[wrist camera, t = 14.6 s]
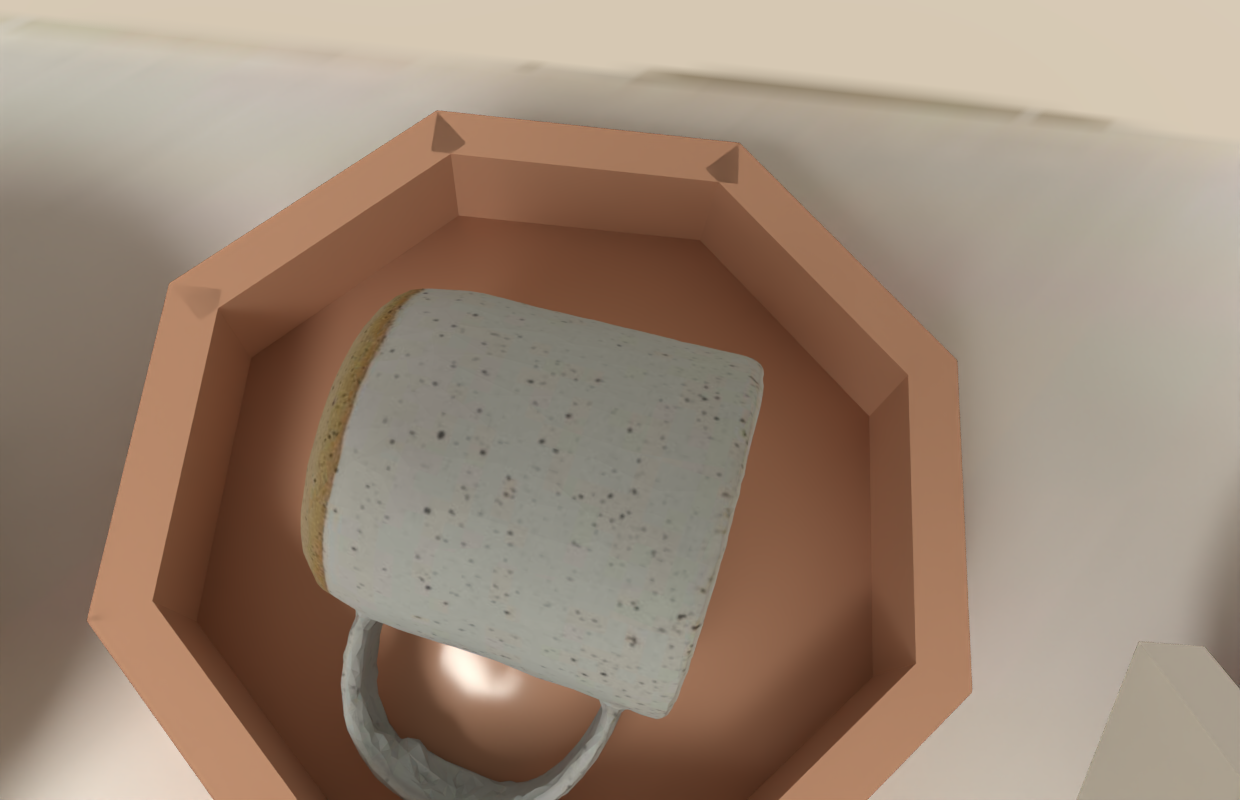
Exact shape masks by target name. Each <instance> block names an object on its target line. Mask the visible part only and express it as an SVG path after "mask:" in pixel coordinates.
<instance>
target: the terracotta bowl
mask: <svg viewBox="0 0 1240 800" xmlns="http://www.w3.org/2000/svg"><path fill="white" fill-rule="evenodd" d="M414 289H446V290H462V291H472V292H479V293H485V294H489V295H492V296H497V297H501V298H505V299H509V300H512V301H516V302H520V303H524V304H528V305H531V306H535V307H539V308H543V309H548V310H552V311H557V312H561V313H565V314H569V315H573V316H577V317H581V318H586V319H592V320H596V321H600V322H604V323H608V324H612V325H616V326H620V327H624V328H629V329H634V330H638V331H642V332H646V333H650V334H655V335H658V336H662V337H666V338H670V339H674V340H678V341H681V342H685V343H691V344H695V345H700V346H704V347H708V348H712V349H717V350H721V351H726V352H730V353H735V354H739V355H743V356H747V357H749V358H753V359H754V360H756V361H757V362H759V363H760V364H761V366H762V367H763V370H764V376H763V384H764V388H763V396H762V402H761V407H760V411H759V415H758V419H757V423H756V427H755V431H754V434H753V438H752V442H751V446H750V450H749V455H748V459H747V463H746V469H745V475H744V478H743V480H742V483H741V488H740V495H739V498H738V501H737V504H736V507H735V511H734V516H733V521H732V525H731V528H730V532H729V536H728V541H727V546H726V549H725V552H724V555H723V558H722V561H721V564H720V568H719V572H718V575H717V579H716V583H715V586H714V589H713V592H712V595H711V599H710V602H709V605H708V608H707V611H706V615H705V619H704V623H703V626H702V629H701V632H700V635H699V638H698V641H697V644H696V647H695V651H694V654H693V657H692V659H691V662H690V666H689V670H688V673H687V675H686V677H685V679H684V682H683V684H682V687H681V690H680V693H679V696H678V698H677V701H676V702H675V703H674V705H673V707H672V709H671V711H670V712H669V714H668V715H667V716H665V717H663V718H660V719H654V718H651V717H647V716H644V715H640V714H638V713H636V712H633V711H631V710H628V709H627V710H624V711H623V712H622V713H621V715H620V717H619V720H618V722H617V724H616V726H615V728H614V730H613V733H612V734H611V736H610V738H609V739H608V741H607V743H606V744H605V746H604V748H603V750H602V751H601V753H600V755H599V757H598V758H597V760H596V761H595V762H594V764H593V765H592V766H591V767H590V769H589V770H588V771H587V772H586V774H585V775H584V776H583V777H582V778H581V780H580V781H579V782H578V783H577V784H576V785H575V786H574V787H573V788H572V789H571V790H570V791H569V792H568V793H567V794H565V795H564V796H562V797H561V798H560V799H558V800H867V799H868V798H869V797H870V796H871V795H872V794H873V793H874V792H875V791H876V790H877V789H878V788H879V787H880V786H881V785H882V784H883V783H884V782H885V781H886V780H887V779H888V778H889V777H890V776H891V775H892V774H893V773H894V772H895V771H896V770H897V769H898V768H899V767H900V766H901V765H902V764H903V763H904V762H905V761H906V759H907V758H908V757H909V756H910V755H911V754H912V753H913V752H914V751H915V750H916V749H917V748H918V747H919V746H920V745H921V744H922V743H923V742H924V741H925V740H926V739H927V738H928V737H929V736H930V735H931V734H932V733H933V732H934V731H935V730H936V729H937V728H938V727H939V726H940V725H941V724H942V723H943V722H944V720H945V719H946V718H947V717H948V716H949V715H950V714H951V713H952V712H953V711H954V710H955V709H956V708H957V707H958V706H959V705H960V704H961V703H962V702H963V701H964V700H965V699H966V698H967V697H968V696H969V695H970V694H971V693H972V677H971V654H970V632H969V610H968V588H967V566H966V543H965V521H964V499H963V477H962V455H961V432H960V410H959V388H958V366H957V361H956V359H955V358H954V357H953V356H952V355H951V354H950V353H949V352H948V351H947V350H946V349H945V348H944V347H943V346H942V345H941V344H940V343H939V342H938V341H937V340H936V339H935V338H934V337H933V336H932V335H931V334H930V333H929V332H928V331H927V330H926V329H925V328H924V327H923V326H922V325H921V324H920V323H919V322H918V321H917V320H916V319H915V318H914V317H913V316H912V315H911V314H910V313H909V312H908V311H907V310H906V309H905V308H904V307H903V306H902V305H901V304H900V303H899V302H898V301H897V300H896V299H895V298H894V297H893V296H892V295H891V294H890V293H889V292H888V291H887V290H886V289H885V288H884V287H883V286H882V285H881V284H880V283H879V282H878V281H877V280H876V279H875V278H874V277H873V276H872V275H871V274H870V273H869V272H868V271H867V270H866V269H865V268H864V267H863V266H862V265H861V264H860V263H859V262H858V261H857V260H856V259H855V258H854V257H853V256H852V255H851V254H850V253H849V252H848V251H847V250H846V249H845V248H844V247H843V246H842V245H841V244H840V243H839V242H838V241H837V240H836V239H835V238H834V237H833V236H832V235H831V234H830V233H829V232H828V231H827V230H826V229H825V228H824V227H823V226H822V225H821V224H820V223H819V222H818V221H817V220H816V219H815V218H814V217H813V216H812V215H811V214H810V213H809V212H808V211H807V210H806V209H805V208H804V207H803V206H802V205H801V204H800V203H799V202H798V201H797V200H796V199H795V198H794V197H793V196H792V195H791V194H790V193H789V192H788V191H787V190H786V189H785V188H784V187H783V186H782V185H781V184H780V183H779V182H778V181H777V180H776V179H775V178H774V177H773V176H772V175H771V174H770V173H769V172H768V171H767V170H766V169H765V168H764V167H763V166H762V165H761V164H760V163H759V162H758V161H757V160H756V159H755V158H754V157H753V156H752V155H751V154H750V153H749V152H748V151H747V150H746V149H745V148H744V147H743V146H742V145H741V144H739V143H736V142H727V141H718V140H708V139H699V138H690V137H680V136H671V135H662V134H652V133H643V132H634V131H624V130H615V129H606V128H596V127H587V126H578V125H568V124H559V123H550V122H540V121H531V120H522V119H512V118H503V117H494V116H484V115H475V114H466V113H456V112H447V111H438V110H437V111H435V112H434V113H432V114H430V115H429V116H427V117H426V118H424V119H423V120H421V121H420V122H418V123H417V124H415V125H413V126H412V127H410V128H409V129H407V130H406V131H404V132H403V133H401V134H399V135H398V136H396V137H395V138H393V139H392V140H390V141H389V142H387V143H386V144H384V145H382V146H381V147H379V148H378V149H376V150H375V151H373V152H372V153H370V154H369V155H367V156H365V157H364V158H362V159H361V160H359V161H358V162H356V163H355V164H353V165H352V166H350V167H348V168H347V169H345V170H344V171H342V172H341V173H339V174H338V175H336V176H335V177H333V178H331V179H330V180H328V181H327V182H325V183H324V184H322V185H321V186H319V187H318V188H316V189H314V190H313V191H311V192H310V193H308V194H307V195H305V196H304V197H302V198H300V199H299V200H297V201H296V202H294V203H293V204H291V205H290V206H288V207H287V208H285V209H283V210H282V211H280V212H279V213H277V214H276V215H274V216H273V217H271V218H270V219H268V220H266V221H265V222H263V223H262V224H260V225H259V226H257V227H256V228H254V229H253V230H251V231H249V232H248V233H246V234H245V235H243V236H242V237H240V238H239V239H237V240H236V241H234V242H232V243H231V244H229V245H228V246H226V247H225V248H223V249H222V250H220V251H218V252H217V253H215V254H214V255H212V256H211V257H209V258H208V259H206V260H205V261H203V262H201V263H200V264H198V265H197V266H195V267H194V268H192V269H191V270H189V271H188V272H186V273H184V274H183V275H181V276H180V277H178V278H177V279H175V280H174V281H172V282H171V283H170V284H169V285H168V289H167V294H166V298H165V302H164V306H163V310H162V314H161V318H160V322H159V326H158V330H157V334H156V339H155V343H154V347H153V351H152V355H151V359H150V363H149V367H148V371H147V375H146V380H145V384H144V388H143V392H142V396H141V400H140V404H139V408H138V412H137V416H136V420H135V425H134V429H133V433H132V437H131V441H130V445H129V449H128V453H127V457H126V461H125V466H124V470H123V474H122V478H121V482H120V486H119V490H118V494H117V498H116V502H115V506H114V511H113V515H112V519H111V523H110V527H109V531H108V535H107V539H106V543H105V547H104V552H103V556H102V560H101V564H100V568H99V572H98V576H97V580H96V584H95V588H94V592H93V597H92V601H91V605H90V609H89V613H88V617H87V620H88V621H87V622H88V623H89V625H90V626H91V628H92V629H93V630H94V632H95V633H96V635H97V636H98V637H99V639H100V640H101V642H102V643H103V645H104V646H105V647H106V649H107V650H108V652H109V653H110V654H111V656H112V657H113V659H114V660H115V661H116V663H117V664H118V666H119V667H120V668H121V670H122V671H123V673H124V674H125V676H126V677H127V678H128V680H129V681H130V683H131V684H132V685H133V687H134V688H135V690H136V691H137V692H138V694H139V695H140V697H141V698H142V699H143V701H144V702H145V704H146V705H147V707H148V708H149V709H150V711H151V712H152V714H153V715H154V716H155V718H156V719H157V721H158V722H159V723H160V725H161V726H162V728H163V729H164V731H165V732H166V733H167V735H168V736H169V738H170V739H171V740H172V742H173V743H174V745H175V746H176V747H177V749H178V750H179V752H180V753H181V754H182V756H183V757H184V759H185V760H186V762H187V763H188V764H189V766H190V767H191V769H192V770H193V771H194V773H195V774H196V776H197V777H198V778H199V780H200V781H201V783H202V784H203V786H204V787H205V788H206V790H207V791H208V793H209V794H210V795H211V797H212V798H213V800H403V799H401V798H400V797H399V796H397V795H396V794H395V793H393V792H392V791H391V790H390V789H388V788H387V787H386V786H385V785H384V784H383V783H381V782H380V781H379V780H378V779H377V778H376V777H375V776H374V774H373V773H372V772H371V770H370V769H369V767H368V766H367V765H366V763H365V762H364V760H363V759H362V757H361V756H360V754H359V752H358V750H357V748H356V746H355V744H354V742H353V740H352V738H351V736H350V734H349V732H348V730H347V726H346V722H345V718H344V711H343V701H342V691H341V678H342V671H343V654H344V651H345V648H346V645H347V641H348V636H349V632H350V629H351V627H352V625H353V622H354V620H355V618H356V610H355V609H354V608H352V607H350V606H349V605H347V604H346V603H344V602H342V601H341V600H339V599H337V598H336V597H334V596H333V595H331V594H329V593H328V592H326V591H324V590H323V589H322V588H321V587H320V586H319V585H318V584H317V582H316V580H315V577H314V575H313V573H312V571H311V569H310V567H309V564H308V562H307V560H306V557H305V555H304V553H303V548H302V539H301V506H302V500H303V493H304V487H305V479H306V472H307V465H308V461H309V458H310V454H311V450H312V447H313V443H314V440H315V436H316V432H317V429H318V425H319V422H320V419H321V416H322V413H323V410H324V407H325V404H326V401H327V398H328V395H329V392H330V389H331V387H332V384H333V382H334V380H335V378H336V375H337V373H338V371H339V369H340V367H341V365H342V363H343V361H344V359H345V357H346V355H347V353H348V351H349V349H350V348H351V346H352V344H353V342H354V340H355V339H356V338H357V336H358V335H359V333H360V332H361V330H362V329H363V327H364V326H365V325H366V324H367V323H368V321H369V320H370V319H371V318H372V317H373V316H374V315H375V314H376V313H377V311H378V310H379V309H380V308H381V307H382V306H384V305H385V304H386V303H388V302H389V301H391V300H392V299H393V298H395V297H396V296H398V295H400V294H403V293H405V292H407V291H409V290H414ZM377 667H378V677H377V686H378V694H379V697H380V699H381V702H382V704H383V707H384V710H385V712H386V715H387V718H388V721H389V723H390V724H391V726H392V727H393V729H394V730H395V731H396V733H397V734H398V735H399V737H400V738H401V739H404V738H407V737H408V738H414V739H419V740H420V741H421V742H422V743H423V745H424V746H425V747H426V748H427V750H428V751H430V752H432V753H433V754H435V755H437V756H439V757H440V758H442V759H444V760H446V761H448V762H450V763H453V764H455V765H458V766H460V767H463V768H465V769H468V770H470V771H472V772H474V773H477V774H479V775H481V776H484V777H486V778H489V779H492V780H494V781H498V782H504V781H513V782H516V783H518V782H525V781H529V780H531V779H534V778H537V777H539V776H540V775H543V774H544V773H546V772H547V771H548V770H550V769H551V768H553V767H554V766H555V765H557V764H558V763H559V762H561V761H562V760H563V759H564V758H565V757H566V756H567V755H568V753H569V752H570V751H571V750H572V749H573V748H574V747H575V746H576V745H577V744H578V742H579V741H580V740H581V738H582V737H583V735H584V734H585V732H586V731H587V730H588V728H589V726H590V725H591V723H592V721H593V720H594V718H595V716H596V715H597V713H598V711H599V709H600V707H601V704H600V701H599V699H596V698H594V697H591V696H589V695H586V694H584V693H581V692H579V691H576V690H574V689H571V688H568V687H564V686H561V685H558V684H555V683H552V682H549V681H546V680H542V679H539V678H536V677H534V676H531V675H529V674H527V673H524V672H522V671H519V670H517V669H515V668H512V667H510V666H507V665H505V664H502V663H500V662H498V661H495V660H492V659H489V658H486V657H483V656H480V655H477V654H474V653H471V652H468V651H465V650H462V649H459V648H456V647H453V646H449V645H446V644H442V643H439V642H435V641H432V640H429V639H426V638H423V637H420V636H417V635H414V634H411V633H408V632H405V631H402V630H399V629H396V628H393V627H391V626H388V625H386V624H383V625H382V629H381V633H380V642H379V650H378V657H377Z"/></svg>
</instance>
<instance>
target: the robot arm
mask: <svg viewBox="0 0 1240 800" xmlns="http://www.w3.org/2000/svg"><path fill="white" fill-rule="evenodd" d="M1077 800H1240V689H1239V687H1238V686H1237V685H1236V684H1235V683H1234V681H1233V680H1232V679H1231V678H1230V677H1229V675H1228V674H1227V673H1226V672H1225V671H1224V669H1223V668H1222V667H1221V666H1220V665H1219V663H1218V662H1217V661H1216V660H1215V659H1214V657H1213V656H1212V655H1211V654H1210V653H1209V651H1208V650H1207V649H1206V648H1205V647H1204V646H1194V645H1181V644H1167V643H1154V642H1141V641H1139V642H1138V645H1137V647H1136V650H1135V652H1134V655H1133V658H1132V660H1131V663H1130V665H1129V668H1128V670H1127V673H1126V675H1125V678H1124V680H1123V683H1122V686H1121V688H1120V691H1119V693H1118V696H1117V698H1116V701H1115V703H1114V706H1113V708H1112V711H1111V714H1110V716H1109V719H1108V721H1107V724H1106V726H1105V729H1104V731H1103V734H1102V736H1101V739H1100V742H1099V744H1098V747H1097V749H1096V752H1095V754H1094V757H1093V759H1092V762H1091V764H1090V767H1089V770H1088V772H1087V775H1086V777H1085V780H1084V782H1083V785H1082V787H1081V790H1080V792H1079V795H1078V798H1077Z"/></svg>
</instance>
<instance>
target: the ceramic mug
mask: <svg viewBox="0 0 1240 800" xmlns="http://www.w3.org/2000/svg"><path fill="white" fill-rule="evenodd" d="M763 376H764V370H763V367H762V366H761V364H760V363H759V362H757V361H756V360H754V359H753V358H749V357H747V356H743V355H739V354H735V353H730V352H726V351H721V350H717V349H712V348H708V347H704V346H700V345H695V344H691V343H685V342H681V341H678V340H674V339H670V338H666V337H662V336H658V335H655V334H650V333H646V332H642V331H638V330H634V329H629V328H624V327H620V326H616V325H612V324H608V323H604V322H600V321H596V320H592V319H586V318H581V317H577V316H573V315H569V314H565V313H561V312H557V311H552V310H548V309H543V308H539V307H535V306H531V305H528V304H524V303H520V302H516V301H512V300H509V299H505V298H501V297H497V296H492V295H489V294H485V293H479V292H472V291H462V290H446V289H414V290H409V291H407V292H405V293H403V294H400V295H398V296H396V297H395V298H393V299H392V300H391V301H389V302H388V303H386V304H385V305H384V306H382V307H381V308H380V309H379V310H378V311H377V313H376V314H375V315H374V316H373V317H372V318H371V319H370V320H369V321H368V323H367V324H366V325H365V326H364V327H363V329H362V330H361V332H360V333H359V335H358V336H357V338H356V339H355V340H354V342H353V344H352V346H351V348H350V349H349V351H348V353H347V355H346V357H345V359H344V361H343V363H342V365H341V367H340V369H339V371H338V373H337V375H336V378H335V380H334V382H333V384H332V387H331V389H330V392H329V395H328V398H327V401H326V404H325V407H324V410H323V413H322V416H321V419H320V422H319V425H318V429H317V432H316V436H315V440H314V443H313V447H312V450H311V454H310V458H309V461H308V465H307V472H306V479H305V487H304V493H303V500H302V506H301V539H302V548H303V553H304V555H305V557H306V560H307V562H308V564H309V567H310V569H311V571H312V573H313V575H314V577H315V580H316V582H317V584H318V585H319V586H320V587H321V588H322V589H323V590H324V591H326V592H328V593H329V594H331V595H333V596H334V597H336V598H337V599H339V600H341V601H342V602H344V603H346V604H347V605H349V606H350V607H352V608H354V609H355V610H356V618H355V620H354V622H353V625H352V627H351V629H350V632H349V636H348V641H347V645H346V648H345V651H344V654H343V671H342V678H341V691H342V701H343V711H344V718H345V722H346V726H347V730H348V732H349V734H350V736H351V738H352V740H353V742H354V744H355V746H356V748H357V750H358V752H359V754H360V756H361V757H362V759H363V760H364V762H365V763H366V765H367V766H368V767H369V769H370V770H371V772H372V773H373V774H374V776H375V777H376V778H377V779H378V780H379V781H380V782H381V783H383V784H384V785H385V786H386V787H387V788H388V789H390V790H391V791H392V792H393V793H395V794H396V795H397V796H399V797H400V798H401V799H403V800H558V799H560V798H561V797H562V796H564V795H565V794H567V793H568V792H569V791H570V790H571V789H572V788H573V787H574V786H575V785H576V784H577V783H578V782H579V781H580V780H581V778H582V777H583V776H584V775H585V774H586V772H587V771H588V770H589V769H590V767H591V766H592V765H593V764H594V762H595V761H596V760H597V758H598V757H599V755H600V753H601V751H602V750H603V748H604V746H605V744H606V743H607V741H608V739H609V738H610V736H611V734H612V733H613V730H614V728H615V726H616V724H617V722H618V720H619V717H620V715H621V713H622V712H623V711H624V710H627V709H628V710H631V711H633V712H636V713H638V714H640V715H644V716H647V717H651V718H654V719H660V718H663V717H665V716H667V715H668V714H669V712H670V711H671V709H672V707H673V705H674V703H675V702H676V701H677V698H678V696H679V693H680V690H681V687H682V684H683V682H684V679H685V677H686V675H687V673H688V670H689V666H690V662H691V659H692V657H693V654H694V651H695V647H696V644H697V641H698V638H699V635H700V632H701V629H702V626H703V623H704V619H705V615H706V611H707V608H708V605H709V602H710V599H711V595H712V592H713V589H714V586H715V583H716V579H717V575H718V572H719V568H720V564H721V561H722V558H723V555H724V552H725V549H726V546H727V541H728V536H729V532H730V528H731V525H732V521H733V516H734V511H735V507H736V504H737V501H738V498H739V495H740V488H741V483H742V480H743V478H744V475H745V469H746V463H747V459H748V455H749V450H750V446H751V442H752V438H753V434H754V431H755V427H756V423H757V419H758V415H759V411H760V407H761V402H762V396H763V388H764V384H763ZM383 624H386V625H388V626H391V627H393V628H396V629H399V630H402V631H405V632H408V633H411V634H414V635H417V636H420V637H423V638H426V639H429V640H432V641H435V642H439V643H442V644H446V645H449V646H453V647H456V648H459V649H462V650H465V651H468V652H471V653H474V654H477V655H480V656H483V657H486V658H489V659H492V660H495V661H498V662H500V663H502V664H505V665H507V666H510V667H512V668H515V669H517V670H519V671H522V672H524V673H527V674H529V675H531V676H534V677H536V678H539V679H542V680H546V681H549V682H552V683H555V684H558V685H561V686H564V687H568V688H571V689H574V690H576V691H579V692H581V693H584V694H586V695H589V696H591V697H594V698H596V699H599V701H600V704H601V707H600V709H599V711H598V713H597V715H596V716H595V718H594V720H593V721H592V723H591V725H590V726H589V728H588V730H587V731H586V732H585V734H584V735H583V737H582V738H581V740H580V741H579V742H578V744H577V745H576V746H575V747H574V748H573V749H572V750H571V751H570V752H569V753H568V755H567V756H566V757H565V758H564V759H563V760H562V761H561V762H559V763H558V764H557V765H555V766H554V767H553V768H551V769H550V770H548V771H547V772H546V773H544V774H543V775H540V776H539V777H537V778H534V779H531V780H529V781H525V782H518V783H516V782H513V781H504V782H498V781H494V780H492V779H489V778H486V777H484V776H481V775H479V774H477V773H474V772H472V771H470V770H468V769H465V768H463V767H460V766H458V765H455V764H453V763H450V762H448V761H446V760H444V759H442V758H440V757H439V756H437V755H435V754H433V753H432V752H430V751H428V750H427V748H426V747H425V746H424V745H423V743H422V742H421V741H420V740H419V739H414V738H408V737H407V738H404V739H401V738H400V737H399V735H398V734H397V733H396V731H395V730H394V729H393V727H392V726H391V724H390V723H389V721H388V718H387V715H386V712H385V710H384V707H383V704H382V702H381V699H380V697H379V694H378V686H377V677H378V667H377V657H378V650H379V642H380V633H381V629H382V625H383Z"/></svg>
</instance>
